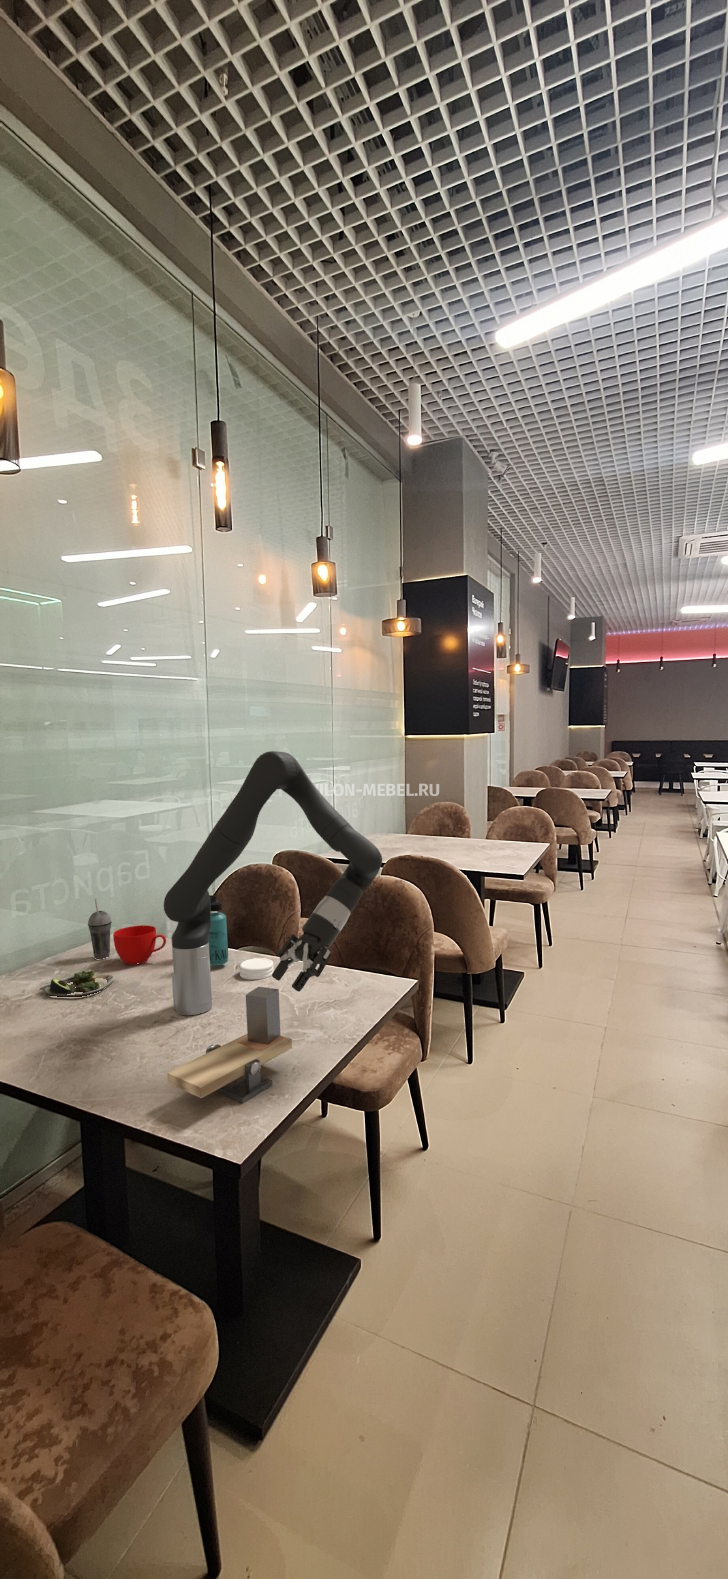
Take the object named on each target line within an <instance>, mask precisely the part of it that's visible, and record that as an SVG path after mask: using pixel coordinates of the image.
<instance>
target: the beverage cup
mask: <svg viewBox="0 0 728 1579" xmlns="http://www.w3.org/2000/svg"><path fill="white" fill-rule="evenodd" d="M94 903H95V910H96V911H94V912H93V913H92V914H91V915H90V916H89V918H88V923H87V926H88V930H89V933H90V939H91V946H92V951H93V956H94V959H95V958H96V959H103V958H106V957H109V958H110V953H111V928H112V919H111V917H110V916H111V915H109V913H108V912H106V911H105V910H99V906H98V900H97V898H94Z"/></svg>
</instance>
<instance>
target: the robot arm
mask: <svg viewBox="0 0 728 1579" xmlns="http://www.w3.org/2000/svg"><path fill="white" fill-rule="evenodd" d="M277 790H282V791H283V792H284V793H286V794H287V795H288V796H290V797H291V799H293V800H294V801H295V802H296V803H297V804H298V806H299V807H300V809H302V811H303V813H304V815H305V816H306V819H307V820H308V822H309V824H310V826H311V827H312V829H313V830H314V831H315V832H316V834H318V836H320V838H321V839H322V840H323V841H324V842H325V844H327V845H328V846H329V848H331V850H333V851H335V852H339V853H341V854H342V855H343V857H345V858H346V859H347V860H348V861H349V864H348V865H347V867H346V868H345V870H344V872H343V873H342V875H341V876H340V877H339V878H338V879H336V880H335V881H334V883H333V884H332V885H331V887H330V889H329V890H328V892H327V893H326V894H325V896H324V897H323V898H322V899H321V900H320V901H319V903H318V904H317V905H316V907H315V909H313V911H312V913H311V914H310V916H309V917H308V919H306V921H305V923H304V924H303V925H302V928H301V930H302V932H303V934H302V935H301V936H300V937H298V936H297V935H296V934H294V933H293V934H291V936H290V937H289V938H288V939H287V940H286V942H285V944H284V945H283V946H282V948H281V949H280V950H279V952H278V953H277V957H279V963H278V964H277V965H276V967H275V968H274V969H273V970H274V972H273V973H272V975H271V977H272V978H273V979H275V980H276V981H281V979H282V978H283V976H284V975H285V974H286V972H287V971H288V969H289V966H291V965H292V964H294V963H299V962H302V964H303V966H302V971H300V972H299V974H298V975H297V977H296V978H295V980H294V981H293V983H292V984H291V988H292V989H294V991H297V992H299V993H300V992H301V991H302V990H303V989H304V987H305V986H306V984H307V982H308V981H309V979H310V978H313V977H316V978H319V977H321V974H322V972H323V971H324V969H325V967H326V966H327V964H328V962H329V961H330V959H331V958H332V956H333V952H332V951H330V950H329V948H330V947H331V946H332V945H333V943H334V942H335V940H336V939H337V937H338V935H339V934H340V933H341V931H342V929H343V928H344V927H345V925H346V923H347V921H348V920H349V917H350V916H351V915H352V914H351V913H352V912H353V911H354V909H355V908H356V906H357V905H358V904H359V901H360V900H361V897H362V896H363V894H364V893H365V891H367V889H368V888H369V887H370V885H371V884H372V883H373V881H374V880H375V878H376V877H377V876H378V874H379V872H380V869H381V867H382V864H383V856H382V854H381V852H380V849H378V847H377V846H376V845H375V844H374V842H372V841H370V840H369V839H368V838H367V837H365V836H364V834H363V835H362V834H361V833H360V832H358V831H357V830H355V829H354V828H353V826H352V825H351V824H350V823H349V821H347V820H346V818H344V817H343V816H342V815H341V814H340V813H339V812H338V811H337V810H336V809H335V808H334V807H333V806H332V804H330V803H329V801H328V800H327V799H326V797H324V795H322V794H321V792H320V790H318V788H317V787H316V786H315V785H314V783H313V782H312V781H311V779H310V777H308V775H307V773H306V771H304V769H303V767H302V766H301V765H300V763H299V761H298V760H297V759H296V758H295V757H294V755H292V754H290V753H289V752H284V751H277V750H276V751H274V750H271V751H266V752H263V753H262V754H260V755H259V756H258V758H256V760H255V761H254V762H253V764H252V766H251V768H250V770H249V771H248V774H247V775H246V778H245V780H244V782H243V783H242V785H241V786H240V789H239V791H238V792H237V794H236V795H235V797H234V798H233V799H232V801H231V802H230V804H229V805H228V806H227V808H226V809H225V811H224V813H223V814H222V815H221V817H220V818H219V819H218V821H217V822H216V823H215V825H214V827H213V828H212V829H211V831H210V833H209V834H208V836H207V838H206V839H205V841H204V842H203V844H202V845H201V847H200V848H199V849H198V851H197V853H196V854H195V856H194V858H193V860H192V861H191V863H190V864H189V866H188V867H187V869H186V870H185V872H183V873H182V874H181V876H180V877H179V878H178V880H177V881H176V882H175V883H174V884H173V885H172V886H171V888H170V889H168V891H167V893H166V894H165V897H164V900H163V911H164V914H165V916H166V918H168V919H169V920H171V921H172V922H175V923H177V925H176V928H175V930H174V932H173V933H172V935H171V949H172V953H171V954H172V965H173V970H172V971H173V972H172V973H171V983H172V984H171V985H172V999H173V1002H172V1003H173V1009H175V1012H176V1013H177V1014H178V1015H182V1016H195V1015H196V1016H197V1015H200V1013H201V1014H204V1013H206V1012H208V1011H210V1010H211V1009H212V1007H213V998H212V997H213V996H212V995H213V993H212V979H211V978H212V976H211V965H210V956H209V933H210V929H211V903H210V895H211V894H210V892H209V889H210V887H211V886H212V884H214V883H215V881H216V880H217V879H218V878H219V877H221V875H222V874H224V872H226V871H227V869H229V867H231V866H232V865H233V863H235V861H236V860H237V859H238V858H239V857H240V856H241V854H242V853H243V852H244V850H245V848H246V847H247V846H248V844H249V843H250V841H251V840H252V837H253V835H254V833H255V829H256V827H257V822H258V818H259V815H260V812H261V811H262V810H263V807H264V805H266V804H267V802H268V800H269V799H270V798H271V797H272V795H273V794H274V793H275V792H276V791H277ZM286 951H287V952H286ZM318 965H319V966H318ZM317 967H318V968H317Z"/></svg>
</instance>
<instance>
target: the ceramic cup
mask: <svg viewBox="0 0 728 1579" xmlns="http://www.w3.org/2000/svg"><path fill="white" fill-rule="evenodd" d="M158 938H161V939H162V941H163V942H162V944H161V946H159V947H157V948H155V946H156V942H157V939H158ZM112 940H113V943H114V949H115V951H116V953H117V955H118V957H119V958H120V959H121V961H123V962H124V963H125V964H126V963H127V964H126V965H128V964H137V963H142V962H145V961H146V962H147V961H148V960H149V959H150V957H151V956H152V955H153V953H156V952H158V951H160V950H162V949H164V947H165V946H166V943H167V938H166V936H165V935H164V934H157V928H156V926H153V925H145V924H144V925H143V924H141V925H132V926H126V927H122V928H120V929H118V930H115V931H114V932H113V936H112ZM146 962H145V963H146ZM142 964H143V963H142ZM137 965H138V964H137Z"/></svg>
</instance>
